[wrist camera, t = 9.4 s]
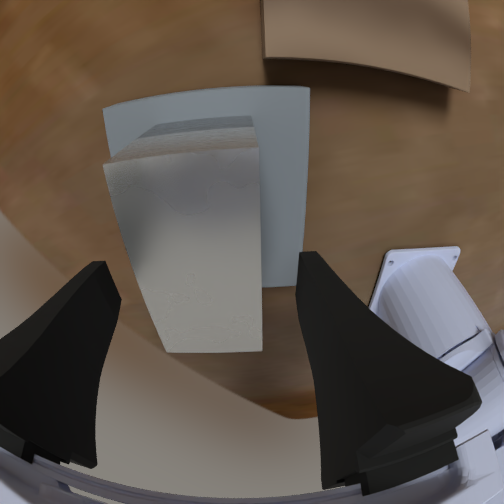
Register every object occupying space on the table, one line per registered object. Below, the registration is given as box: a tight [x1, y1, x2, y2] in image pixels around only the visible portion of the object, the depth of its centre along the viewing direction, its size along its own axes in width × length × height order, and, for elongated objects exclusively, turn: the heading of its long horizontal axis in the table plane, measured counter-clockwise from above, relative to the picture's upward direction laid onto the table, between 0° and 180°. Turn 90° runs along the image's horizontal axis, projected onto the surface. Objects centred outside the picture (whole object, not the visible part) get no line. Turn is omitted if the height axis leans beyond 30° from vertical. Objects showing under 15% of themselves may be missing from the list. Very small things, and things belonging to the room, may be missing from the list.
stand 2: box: [260, 0, 471, 93], centre depth 9 cm, size 7×12×2 cm, turn 92°
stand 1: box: [103, 85, 310, 288], centre depth 15 cm, size 12×10×2 cm
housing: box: [103, 115, 262, 353], centre depth 12 cm, size 4×9×6 cm, turn 2°
